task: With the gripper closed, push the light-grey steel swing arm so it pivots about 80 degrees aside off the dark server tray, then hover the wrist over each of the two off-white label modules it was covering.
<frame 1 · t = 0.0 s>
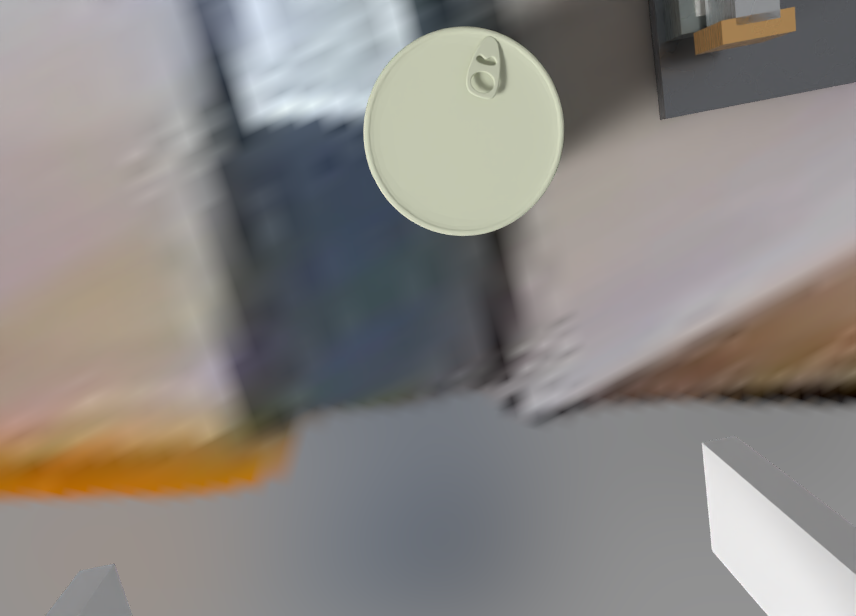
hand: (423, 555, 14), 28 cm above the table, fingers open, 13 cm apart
can: (442, 145, 39), on the table
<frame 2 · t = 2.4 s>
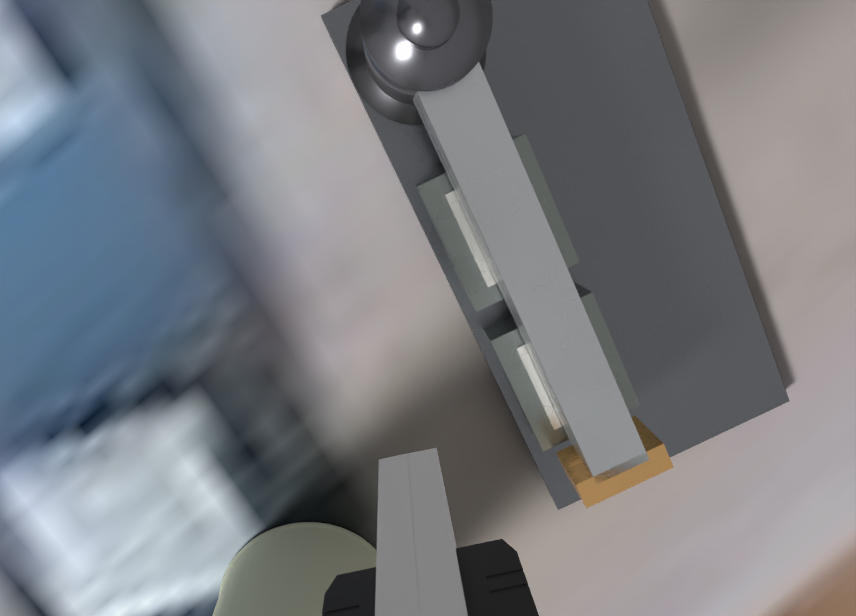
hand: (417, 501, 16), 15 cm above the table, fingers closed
can: (309, 595, 33), on the table
swing arm: (517, 247, 25), point 5 cm above the table, hinge at 0.0°
server tray: (572, 225, 30), on the table
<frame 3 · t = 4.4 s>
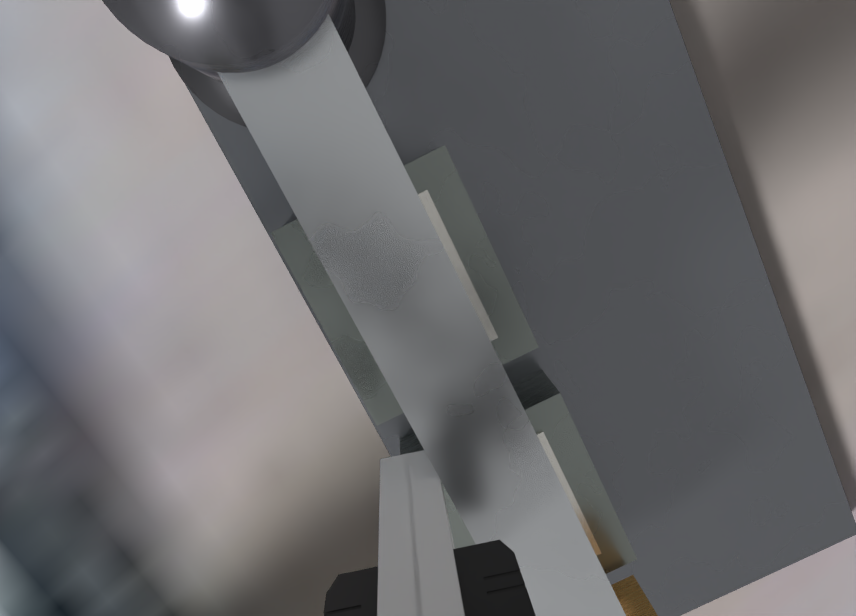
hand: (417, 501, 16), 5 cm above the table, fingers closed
swing arm: (429, 334, 15), point 5 cm above the table, hinge at 0.5°, touching gripper
server tray: (533, 281, 20), on the table
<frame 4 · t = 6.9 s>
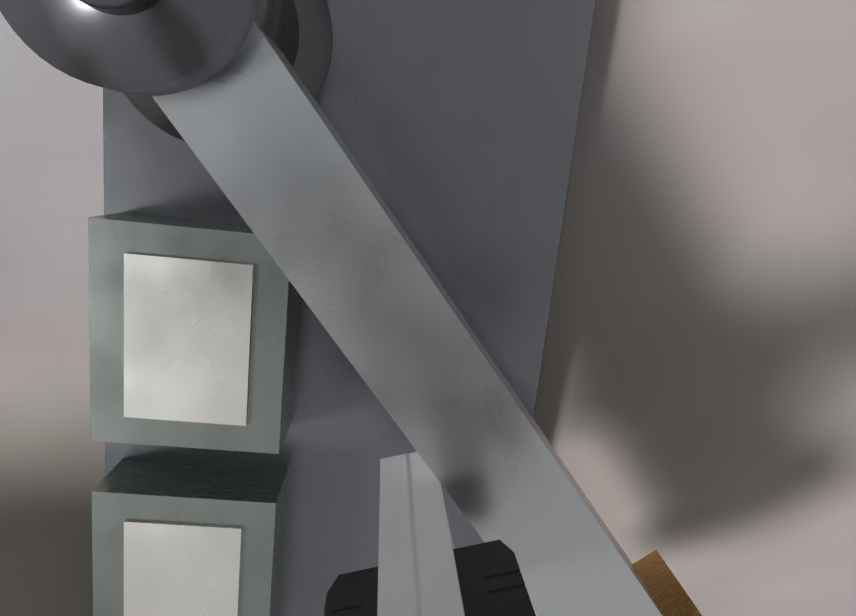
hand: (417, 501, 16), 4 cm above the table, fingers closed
swing arm: (409, 332, 15), point 5 cm above the table, hinge at 40.0°, touching gripper
server tray: (327, 387, 20), on the table
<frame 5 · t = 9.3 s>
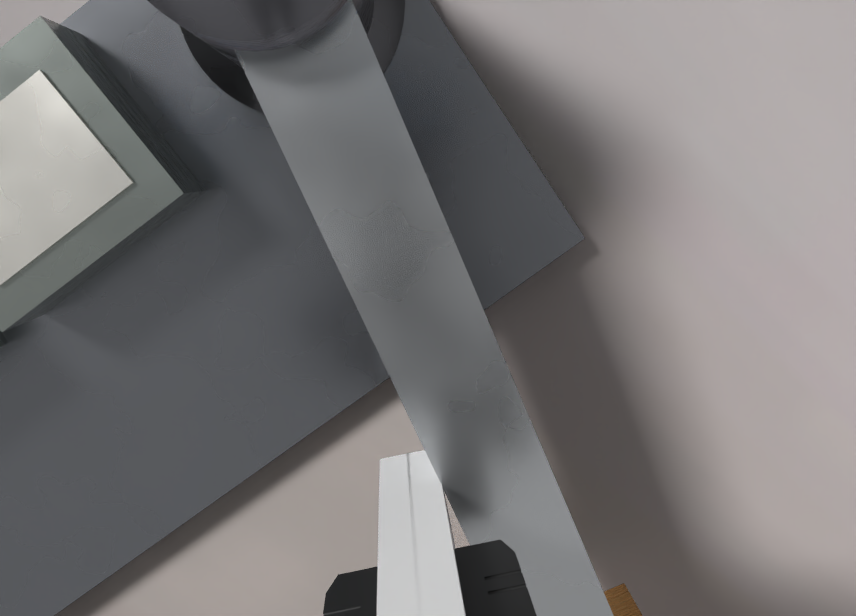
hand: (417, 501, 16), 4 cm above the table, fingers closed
swing arm: (433, 329, 15), point 5 cm above the table, hinge at 77.8°, touching gripper
server tray: (107, 315, 19), on the table
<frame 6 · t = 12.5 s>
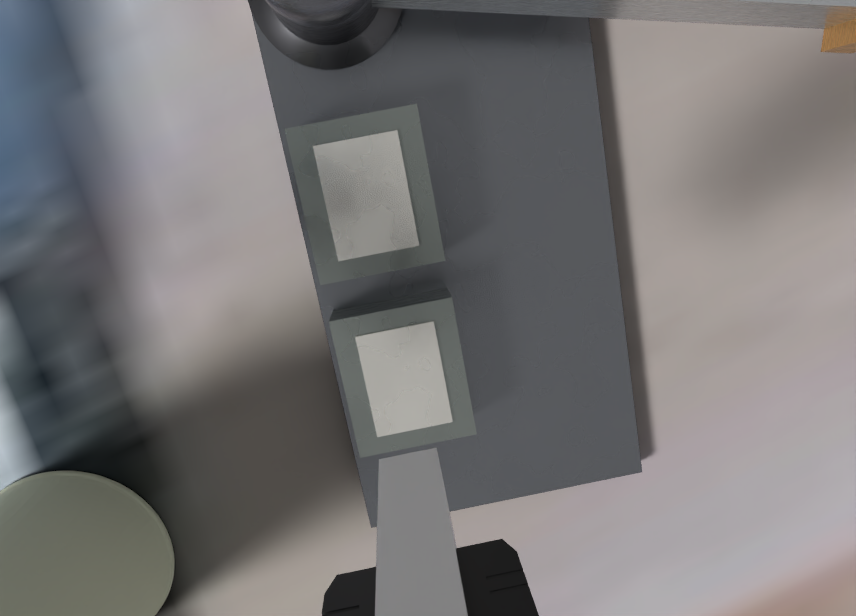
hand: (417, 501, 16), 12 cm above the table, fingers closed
can: (77, 556, 29), on the table
server tray: (457, 224, 27), on the table
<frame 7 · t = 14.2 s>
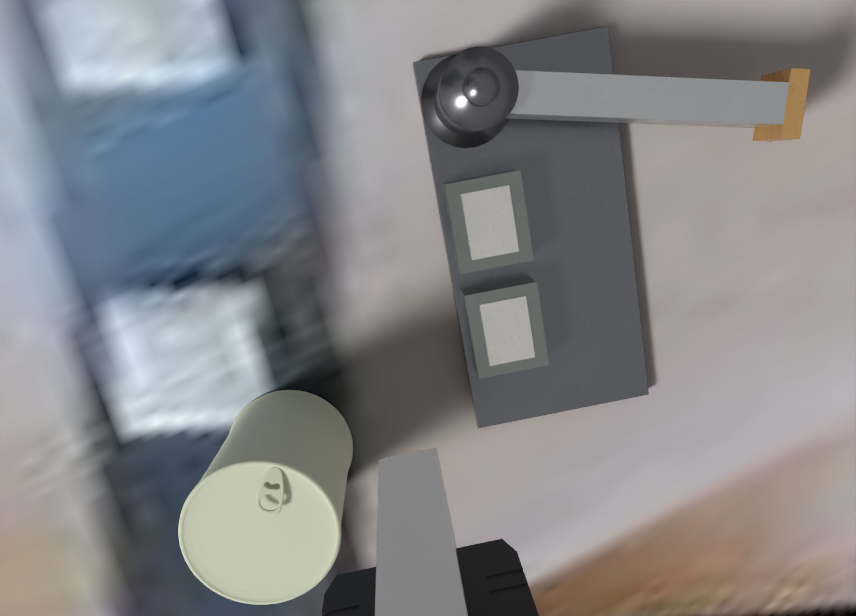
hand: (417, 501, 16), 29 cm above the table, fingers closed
can: (291, 446, 46), on the table
swing arm: (616, 99, 38), point 5 cm above the table, hinge at 77.8°
server tray: (536, 238, 44), on the table
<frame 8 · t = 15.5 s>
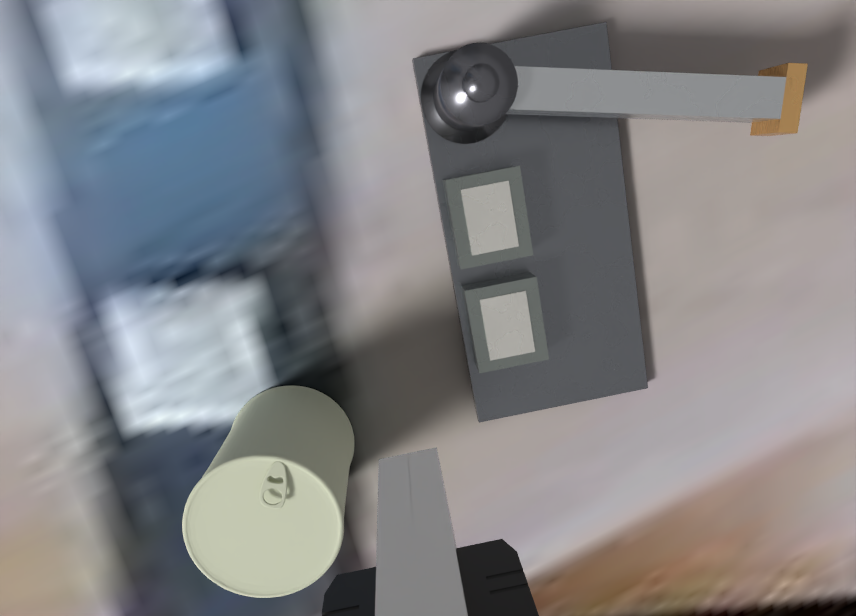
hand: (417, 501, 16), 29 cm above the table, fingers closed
can: (293, 441, 47), on the table
swing arm: (615, 95, 38), point 5 cm above the table, hinge at 77.8°
server tray: (535, 233, 44), on the table
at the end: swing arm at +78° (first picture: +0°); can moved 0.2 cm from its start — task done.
